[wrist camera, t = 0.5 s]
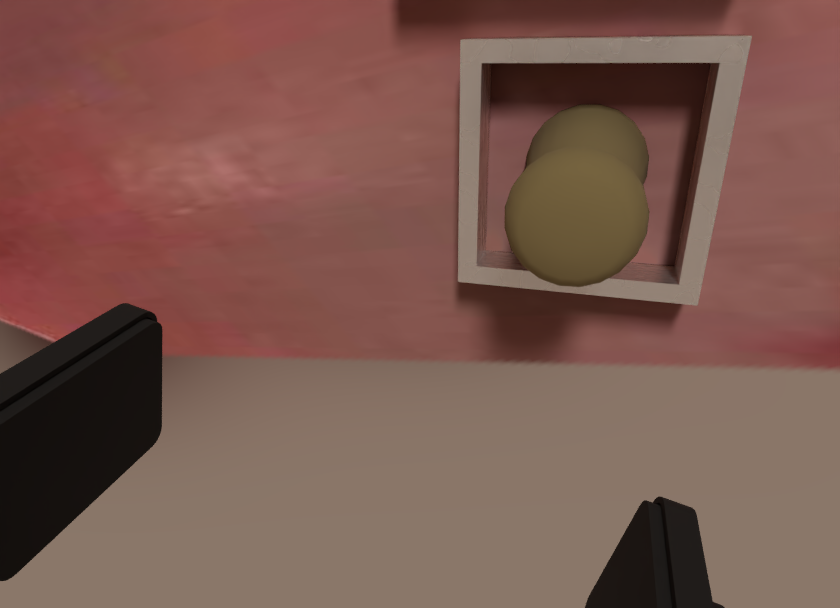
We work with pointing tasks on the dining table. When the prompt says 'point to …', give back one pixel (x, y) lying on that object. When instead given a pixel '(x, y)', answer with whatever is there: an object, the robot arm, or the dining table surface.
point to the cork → (580, 197)
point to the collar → (705, 176)
